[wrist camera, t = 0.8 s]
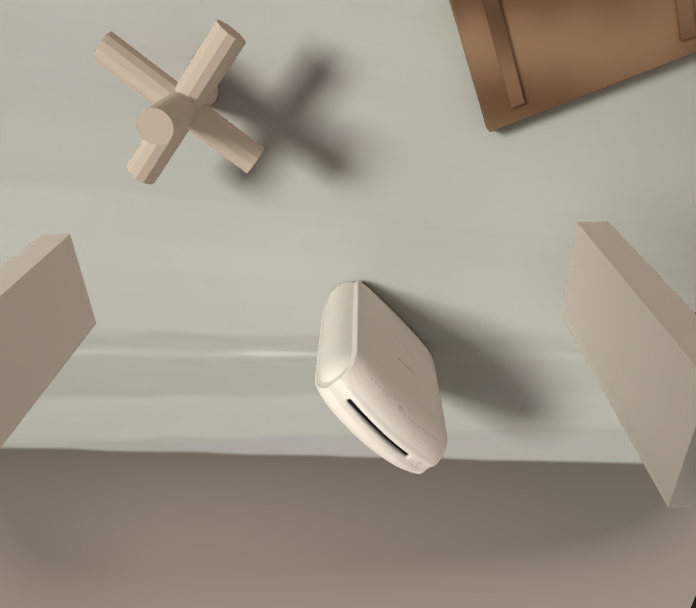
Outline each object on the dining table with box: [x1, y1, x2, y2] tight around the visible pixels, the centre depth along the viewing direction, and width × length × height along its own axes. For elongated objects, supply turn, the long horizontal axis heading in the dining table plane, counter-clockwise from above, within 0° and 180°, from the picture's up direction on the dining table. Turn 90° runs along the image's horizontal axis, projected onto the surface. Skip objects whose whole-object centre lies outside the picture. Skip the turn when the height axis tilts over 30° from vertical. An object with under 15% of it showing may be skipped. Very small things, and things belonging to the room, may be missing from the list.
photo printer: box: [315, 281, 447, 474], centre depth 41 cm, size 10×4×12 cm, turn 41°
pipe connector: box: [94, 20, 265, 184], centre depth 33 cm, size 10×10×10 cm
